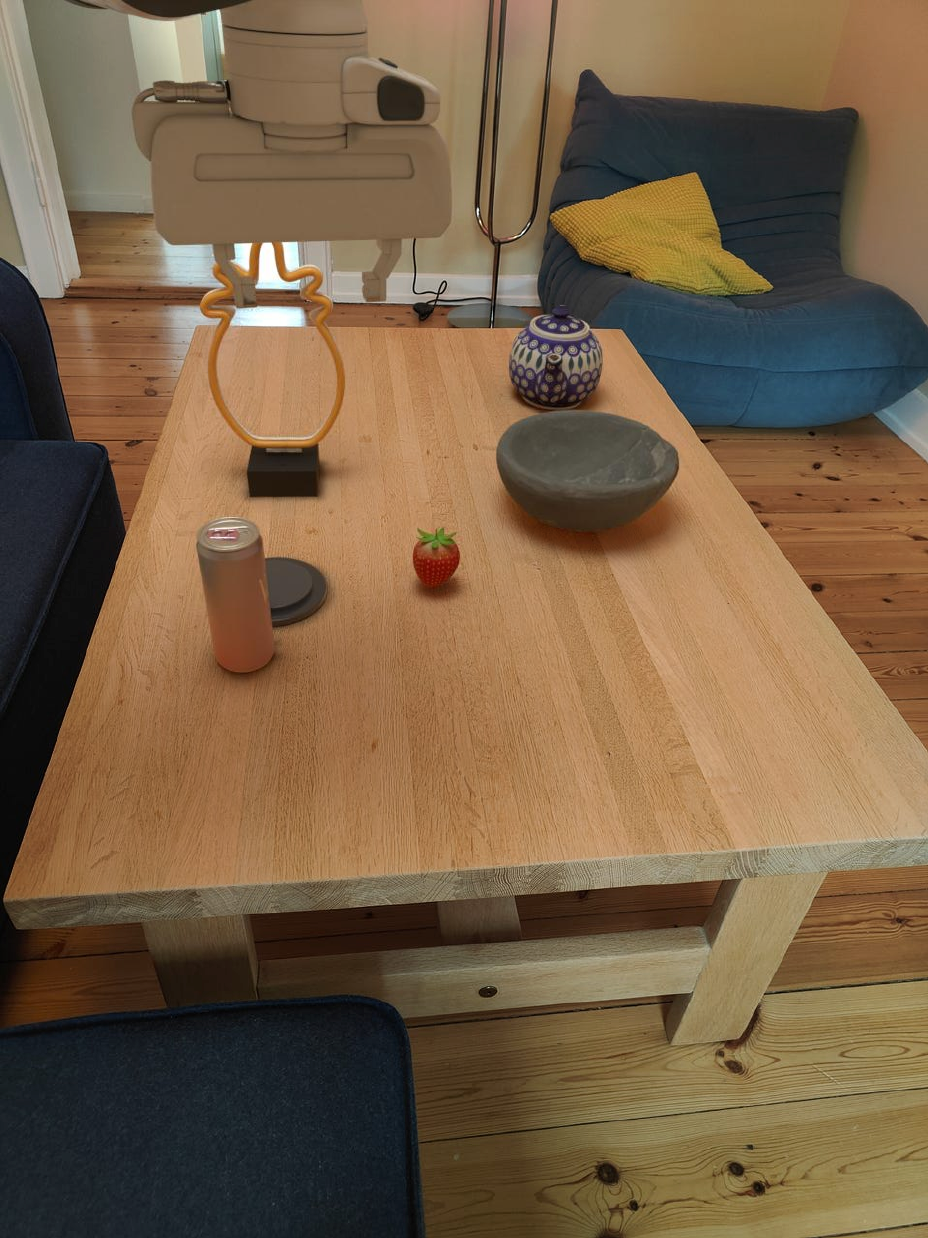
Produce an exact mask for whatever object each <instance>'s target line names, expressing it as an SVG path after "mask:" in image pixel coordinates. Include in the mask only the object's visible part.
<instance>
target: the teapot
mask: <svg viewBox="0 0 928 1238" xmlns="http://www.w3.org/2000/svg"><path fill="white" fill-rule="evenodd" d="M551 313H552V314H541V315H537V316H535V317H533V318H531V320H530V322H529V324H528V325H527V326H526V327H524V328H523V329H522V330H520V331H519V332H518V333H517V335H516V336H515V337H514V339H513V343H512V344H511V347H510V352H509V359H508V373H509V379H510V382H511V384H512V386H513V388H514V389H515V391H516V392H517V393H518V394H519V395H521V396H522V399H523V400H524V401H525V402H526V403H527V404H529V405H531V406H533V407H536V408H540V409H543V410H552V411H563V410H572V409H575V408H577V407H578V406H580V405H581V404H582V402H584V401H585V400H587V399H588V398H589V397H590V396H592V395H593V394H594V393H595V391H596V389H597V388H598V385H599V382H600V380H601V376H602V372H603V363H604V359H603V358H604V356H603V354H604V353H603V349H602V345H601V343H600V341H599V339H598V337H597V336H596V335H595V334H594V333H593V331H591V329H590V325H589V323H587V322H585V321H584V320H582V319H580V318H577V317H575V316H572V315H570V310H569V307H568V306H567V305H564V304H560V305H558V306H557V307H555V308H553V309H552V310H551Z"/></svg>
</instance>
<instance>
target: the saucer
mask: <svg viewBox="0 0 928 1238" xmlns="http://www.w3.org/2000/svg"><path fill="white" fill-rule="evenodd" d="M265 565H266V574H267V583H268V593H269V602H270V611H271V620H272V628H273V627H281V626H286V625H287V626H288V625H291V624H294V623H296V622H299V621H303V620H304V619H307V618H308V617H310V616H311V615H313V614H314V613H316V612H317V611H318V610H319V609H320V608H321V606H322V605H323V604H324V602H325V600H326V598H327V593H328V586H327V581H326V578H325V576H324V575H323V573H322V572H321V571H320V570H319V569H318V568H317V567H316V566H314V565H312V564H310V563H308V562H306V561H303V560H300V559H297V558H291V557H284V556H283V557H282V556H277V557H275V556H273V557H272V556H271V557H265Z"/></svg>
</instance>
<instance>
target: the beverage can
mask: <svg viewBox="0 0 928 1238" xmlns="http://www.w3.org/2000/svg"><path fill="white" fill-rule="evenodd" d="M195 547H196V553H197V559H198V566H199V571H200V579H201V583H202V588H203V595H204V600H205V607H206V612H207V618H208V625H209V630H210V631H209V632H210V636H211V642H212V648H213V653H214V659H215V660H216V662H217V663H218V664H219V665H220V666H221V667H222V668H224V669H226V670H227V671H230V672H232V673H237V674H238V673H239V674H243V673H251V672H252V673H253V672H255V671H257V670H260V669H261V668H264V667H265V666H266V665H267V664H268V663H269V662H270V661H271V659H272V657H273V656H274V654H275V650H276V649H275V640H274V630H273V627H272V620H271V611H270V602H269V593H268V583H267V574H266V565H265V558H266V557H265V556H266V555H265V549H264V540H263V536H262V535H261V531H260V528H259V525H257V524H256V523H255V522H254V521H252V520H250V519H248V518H246V517H245V518H244V517H240V516H223V517H217V518H214V519H212V520H209V521H207V522H206V523H204V524H203V525H202V526H201V527H200V528H199V529H198V530H197V533H196V545H195Z"/></svg>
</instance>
